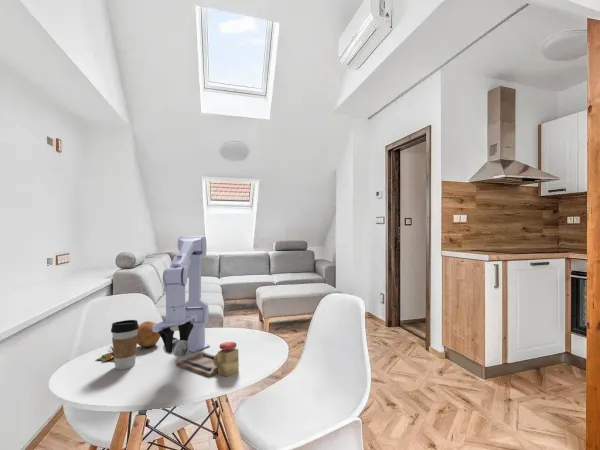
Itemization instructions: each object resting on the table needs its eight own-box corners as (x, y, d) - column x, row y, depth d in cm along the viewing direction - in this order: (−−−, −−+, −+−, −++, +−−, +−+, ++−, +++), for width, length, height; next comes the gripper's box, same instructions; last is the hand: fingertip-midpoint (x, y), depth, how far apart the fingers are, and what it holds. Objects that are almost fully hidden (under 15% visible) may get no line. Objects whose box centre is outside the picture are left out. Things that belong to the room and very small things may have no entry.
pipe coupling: (162, 355, 98) (163, 338, 99) (177, 351, 102) (178, 335, 103) (174, 359, 95) (175, 342, 95) (188, 355, 99) (189, 338, 99)
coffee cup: (105, 369, 106) (104, 323, 106) (126, 359, 114) (126, 317, 114) (123, 372, 103) (123, 325, 103) (144, 362, 111) (144, 319, 111)
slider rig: (176, 365, 107) (176, 339, 108) (203, 354, 117) (202, 330, 117) (220, 381, 95) (220, 351, 95) (246, 367, 104) (246, 341, 104)
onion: (167, 343, 130) (166, 319, 130) (146, 352, 121) (146, 325, 121) (149, 341, 134) (149, 317, 134) (128, 349, 125) (128, 323, 125)
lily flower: (86, 363, 112) (86, 350, 112) (113, 351, 124) (113, 339, 124) (115, 365, 110) (115, 352, 110) (140, 353, 121) (140, 341, 121)
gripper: (161, 312, 91) (162, 360, 91) (203, 302, 103) (203, 344, 103) (148, 309, 95) (148, 355, 95) (189, 300, 107) (190, 341, 107)
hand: (176, 349), depth 99 cm, fingers closed on pipe coupling, 4 cm apart
